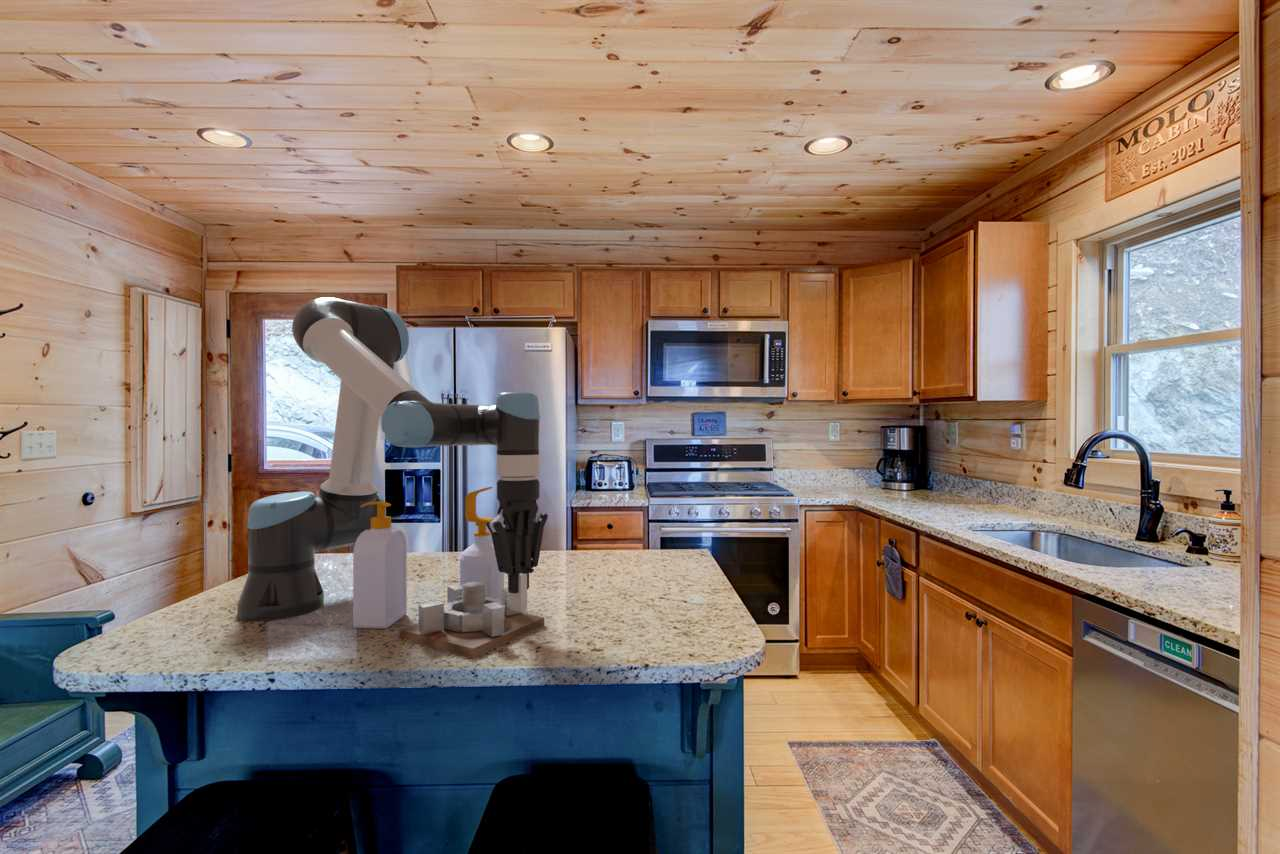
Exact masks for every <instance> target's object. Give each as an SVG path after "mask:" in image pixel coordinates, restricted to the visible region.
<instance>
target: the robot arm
mask: <svg viewBox="0 0 1280 854" xmlns="http://www.w3.org/2000/svg"><path fill="white" fill-rule="evenodd" d="M291 326H292V328H291V331H292V335H293V338H294V341H295V343H296V344H297V346H298V348H300V350H301V351H302V353H304V354H305V355H306V356H308V358H310V359H311V360H312V361H315V362H317V363H321V364H322V363H323V364H324V365H325V366H326V367H327V368H329V370H330V371H331V372H333V373H334V374H335V375H336V376H337V377H338V378H339V379H340V385H339V395H338V402H337V409H336V410H337V412H336V418H335V419H336V420H335V426H334V434H333V435H334V436H333V442H332V443H333V444H332V451H331V459H330V469H329V477H328V479H326V480H325V481H324V482H323V483H321V484H320V486H319V493H318V496H317V497H316V496H315V493H313V492H312V491H305V490H304V491H294V492H284V493H278V494H273V495H268V496H265V497H263V498H260V499H257V500H255V501H254V502H252V503H251V505H250V507H249V509H248V518H247V523H246V526H247V555H248V556H247V562H248V563H247V566H248V567H247V569H248V570H247V577H246V580H245V582H244V585H243V588H242V591H241V594H240V596H239V598H238V601H237V606H236V607H237V609H236V611H237V617H238V618H239V619H242V620H248V621H268V620H269V621H270V620H279V619H287V618H293V617H296V616H301V615H305V614H308V613H312V612H314V611H316V610H318V609H319V608H320V609H321V608H322V607H323V606H324V603H325V593H324V590H323V587H322V584H321V581H320V579H319V576H318V573H317V570H316V567H315V556H316V555H315V554H316V553H317V552H322V551H326V550H333V549H339V548H345V547H354V545H355V543H356V540H357V538H358V537H359V535H360V534H361V533H362V532H363V531H365V530H370V529H371V518H372V517H377V504H369V505H366V506H364V507H361V505H363V504H365V503H369V502H378V501H382V502H385V500H384V498H383V497H382V496H381V494H379V493H378V487H377V485H375V483H373V480H372V479H373V472H374V464H375V456H376V450H377V449H376V447H377V443H378V442H377V440H378V433H379V426H380V425H379V424H381V431H382V433H384V438H385V440H386V441H387V442H388V443H390V444H391V445H392V446H394V447H398V448H399V447H403V448H410V449H415V448H416V449H417V448H425V447H427V448H428V447H444V446H445V447H454V446H456V447H458V446H471V447H472V446H492V445H493V446H496V476H497V477H498V478H500V479H498V480H497V481H496V499H497V501H498V502H499V507H498V508H497V515H496V516H495V517H494V518H495V519H494V520H493V521H491V520H489V521H487V524H486V525H487V526H486V528H487V529H488V530H489V532H490V536H491V540H492V544H493V545H494V550H495V555H496V560H497V565H498V570H499V572H502V573H504V574H506V575H507V588H508V591H509V593H510V605H511V610H515V611H519V612H522V613H524V612H525V611H528V590H529V589H530V574H532V573H534V571H535V569H534V568H536V567H538V565H539V561H540V559H539V558H540V554H541V553H540V552H541V546H542V541H543V535H544V530H545V524H546V523H547V520H548V518H549V515H548V514H547V513H544V512H541V511H540V510H539V505H538V503H537V500H539V499H540V480H539V479H538V478H537V477H539V476H540V448H539V445H540V441H539V440H540V418H541V415H540V406H539V398H538V395H536V394H535V393H532V392H525V391H524V392H523V391H506V392H505V391H504V392H500V393H498V394H497V395H496V401H495V404H461V403H460V404H459V403H456V404H455V403H443V402H442V403H440V402H439V403H438V402H432V401H430V400H429V399H427V398H426V396H424V395H423V394H422V393H420V391H418V390H417V389H416V388H414V386H412V385H411V384H410V383H409V382H408V381H407V380H405V378H403V376H401V375H400V374H399V373H398V372H397V371H395V370H394V367H395V363H397V362H400V361H402V360H403V359H404V357H405V355H406V354H407V352H408V350H409V345H410V336H409V334H410V333H409V330H408V326H407V325H406V322H404V319H403V318H402V317H401V315H400V314H398V313H397V312H395V311H394V310H391V309H388V308H385V307H382V306H378V305H370V304H366V303H362V302H355V301H351V300H345V299H341V298H337V297H329V296H327V297H324V296H323V297H318V298H315V299H312V300H309V301H308V302H306V303H304V304H302V305H301V307H300V308H298V310H297V311H296V313H295V315H294V317H293V320H292V325H291ZM380 417H381V422H380ZM385 516H387V507H385ZM523 611H524V612H523Z"/></svg>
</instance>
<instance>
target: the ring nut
mask: <svg viewBox="0 0 1280 854" xmlns="http://www.w3.org/2000/svg"><path fill="white" fill-rule="evenodd" d="M446 589H447V590H446V591H447V598H446V600H447V602H446V603H444V602H443V601H440V600H437V601H430V602H426V603H419V604H418V623H419V632H420V633H422V634H423V635H424V634H428V633H433V632H437V631H442V630H444V628H445V629H449V630H453V631H457V632H459V631H462V632H467V631H479V630H483V632H485V633H487V634H488V635H490V636H491V637H493V636H497V635H501V634H504V622H505V615H506V616H508V615H513V614H517V613H524V612H525V611H523V612H519V611H515V610H511V605H510V593H509V591H508V587H504V588H503V589H501V599H496V598H491V597H486V598H485V604H483V611H480V612H467V613H463V612H462V593H463V586H461V585H460V583H456V584H451V585H447V588H446Z"/></svg>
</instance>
